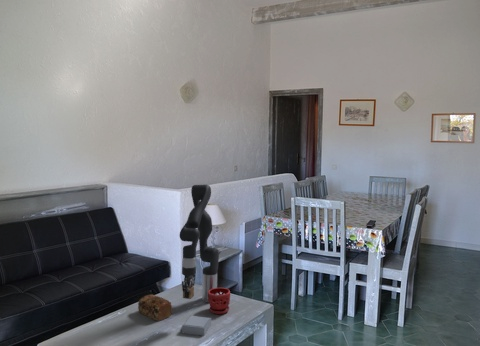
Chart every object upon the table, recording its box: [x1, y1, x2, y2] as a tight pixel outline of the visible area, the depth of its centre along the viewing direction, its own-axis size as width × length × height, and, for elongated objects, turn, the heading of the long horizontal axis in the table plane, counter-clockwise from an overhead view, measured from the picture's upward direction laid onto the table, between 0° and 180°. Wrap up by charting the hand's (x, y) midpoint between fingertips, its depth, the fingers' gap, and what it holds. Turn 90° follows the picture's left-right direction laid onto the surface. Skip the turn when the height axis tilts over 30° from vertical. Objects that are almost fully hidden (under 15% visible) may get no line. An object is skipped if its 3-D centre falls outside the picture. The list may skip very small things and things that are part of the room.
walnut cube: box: [182, 286, 195, 300], centre depth 210 cm, size 4×4×5 cm
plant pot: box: [208, 287, 231, 315], centre depth 229 cm, size 13×13×12 cm
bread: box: [137, 294, 173, 322], centre depth 222 cm, size 19×11×10 cm, turn 48°
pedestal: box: [181, 315, 212, 337], centre depth 206 cm, size 12×12×4 cm
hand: (188, 296), depth 210 cm, fingers closed on walnut cube, 4 cm apart
